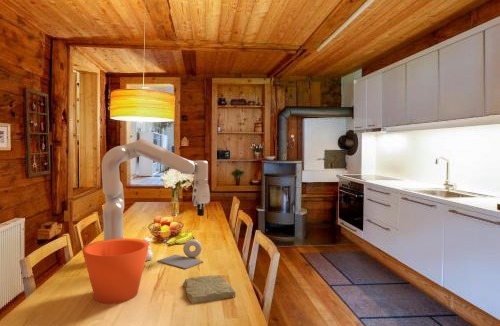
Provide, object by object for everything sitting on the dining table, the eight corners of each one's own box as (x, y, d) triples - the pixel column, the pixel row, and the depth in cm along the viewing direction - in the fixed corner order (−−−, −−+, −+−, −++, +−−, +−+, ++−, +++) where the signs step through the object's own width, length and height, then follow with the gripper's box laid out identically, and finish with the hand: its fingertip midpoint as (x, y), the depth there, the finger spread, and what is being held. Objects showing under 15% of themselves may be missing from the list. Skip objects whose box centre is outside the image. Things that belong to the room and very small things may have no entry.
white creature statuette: (146, 255, 193) (146, 234, 193) (158, 258, 189) (158, 236, 189) (132, 260, 185) (133, 237, 184) (145, 263, 181) (145, 240, 180)
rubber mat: (185, 269, 173) (185, 268, 173) (157, 261, 184) (157, 260, 183) (203, 262, 184) (203, 261, 184) (175, 255, 194) (175, 254, 194)
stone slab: (220, 280, 160) (220, 273, 160) (236, 298, 142) (236, 289, 142) (179, 286, 153) (179, 278, 153) (190, 305, 134) (190, 296, 134)
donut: (182, 258, 189) (183, 240, 188) (182, 256, 192) (183, 238, 192) (201, 258, 190) (202, 239, 190) (201, 256, 194) (201, 238, 194)
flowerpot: (160, 294, 143) (161, 246, 142) (100, 315, 124) (100, 260, 123) (129, 278, 160) (129, 235, 159) (71, 295, 141) (71, 246, 140)
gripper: (197, 184, 186) (196, 218, 187) (214, 182, 199) (214, 214, 200) (186, 183, 191) (186, 216, 191) (204, 181, 203) (204, 212, 204)
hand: (200, 215), depth 196 cm, fingers closed
